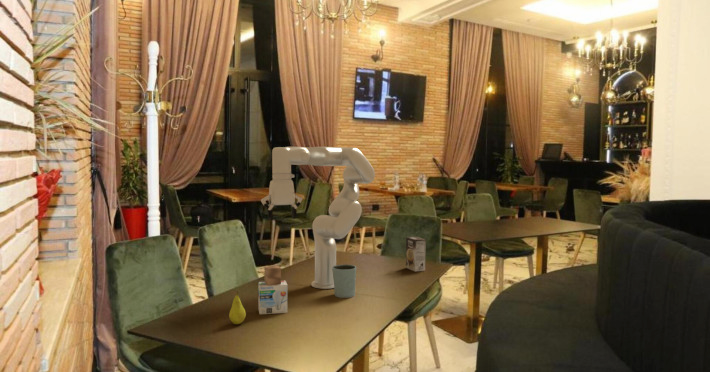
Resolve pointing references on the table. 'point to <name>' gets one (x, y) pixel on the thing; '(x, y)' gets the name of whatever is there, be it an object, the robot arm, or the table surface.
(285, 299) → the light bulb box
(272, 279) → the walnut block
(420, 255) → the coffee box
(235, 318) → the fruit
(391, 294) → the table surface
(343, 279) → the blue cup
